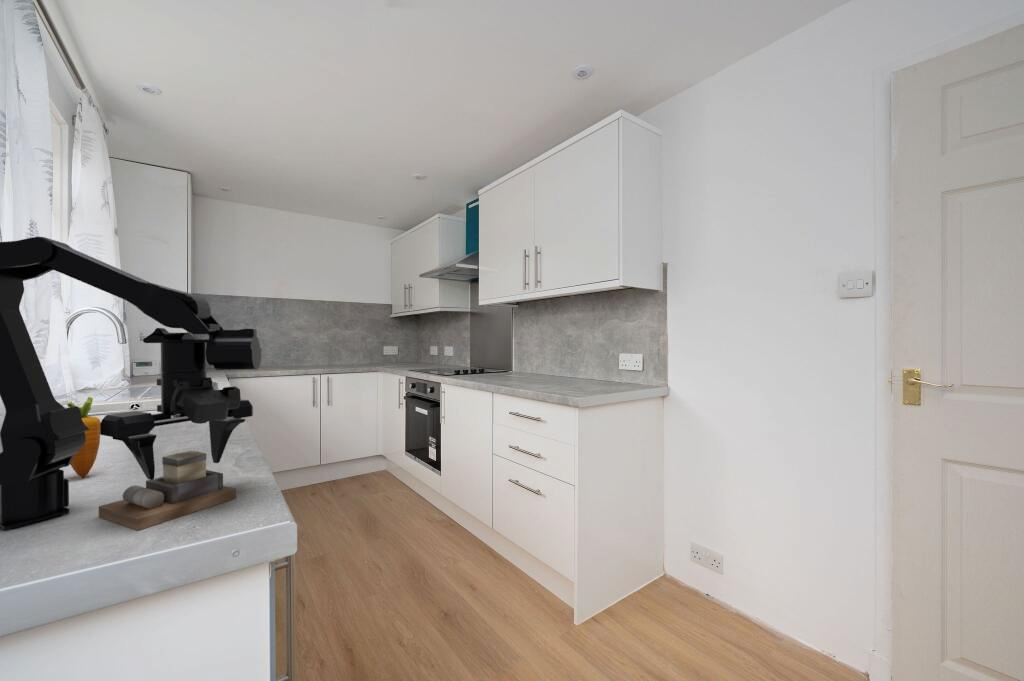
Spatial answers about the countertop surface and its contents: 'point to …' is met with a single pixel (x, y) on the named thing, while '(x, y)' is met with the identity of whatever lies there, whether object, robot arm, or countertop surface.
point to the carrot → (87, 441)
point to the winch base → (166, 501)
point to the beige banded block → (184, 467)
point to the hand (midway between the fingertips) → (185, 470)
